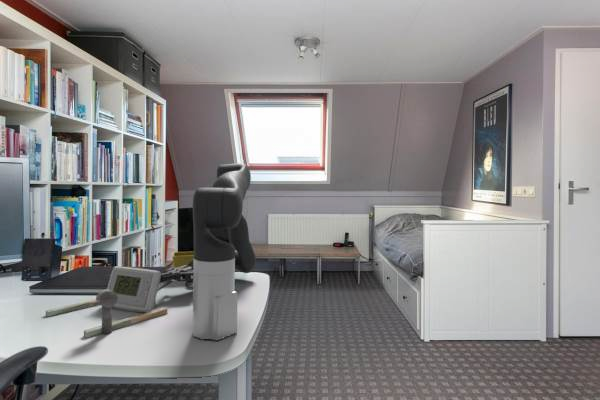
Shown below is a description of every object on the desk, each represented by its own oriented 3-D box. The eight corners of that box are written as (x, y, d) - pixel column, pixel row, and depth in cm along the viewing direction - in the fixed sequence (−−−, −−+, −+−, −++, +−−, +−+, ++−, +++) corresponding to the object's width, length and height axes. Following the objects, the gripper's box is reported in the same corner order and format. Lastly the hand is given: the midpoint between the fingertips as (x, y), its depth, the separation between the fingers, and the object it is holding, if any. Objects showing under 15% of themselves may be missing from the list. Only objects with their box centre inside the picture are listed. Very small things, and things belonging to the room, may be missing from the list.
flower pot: (172, 275, 136) (173, 251, 135) (197, 274, 138) (197, 251, 138) (172, 281, 127) (172, 256, 127) (198, 280, 130) (198, 255, 130)
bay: (172, 315, 95) (172, 278, 94) (91, 340, 78) (92, 296, 78) (122, 297, 109) (123, 265, 108) (45, 315, 92) (45, 277, 92)
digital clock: (100, 306, 100) (100, 268, 100) (129, 298, 108) (130, 262, 108) (137, 318, 92) (138, 276, 92) (167, 308, 100) (167, 269, 100)
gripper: (193, 254, 124) (145, 262, 109) (219, 260, 116) (172, 269, 102) (192, 277, 124) (145, 287, 110) (219, 283, 116) (172, 295, 102)
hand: (158, 278), depth 106 cm, fingers closed
